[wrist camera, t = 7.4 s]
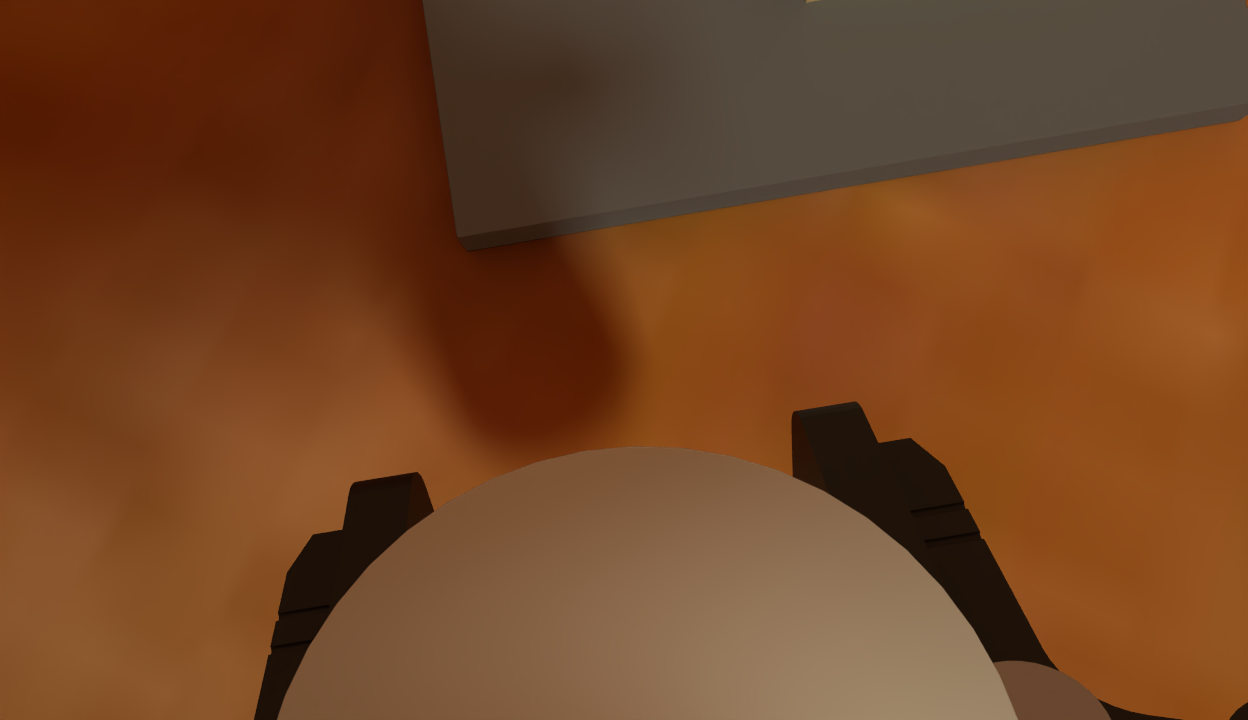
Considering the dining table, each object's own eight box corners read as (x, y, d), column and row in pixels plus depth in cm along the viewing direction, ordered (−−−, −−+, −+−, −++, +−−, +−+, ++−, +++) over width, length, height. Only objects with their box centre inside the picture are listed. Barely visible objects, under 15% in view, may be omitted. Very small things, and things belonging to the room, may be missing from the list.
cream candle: (530, 768, 16) (299, 1350, 5) (492, 501, 17) (214, 509, 6) (794, 724, 16) (1124, 1209, 5) (747, 459, 17) (952, 390, 6)
